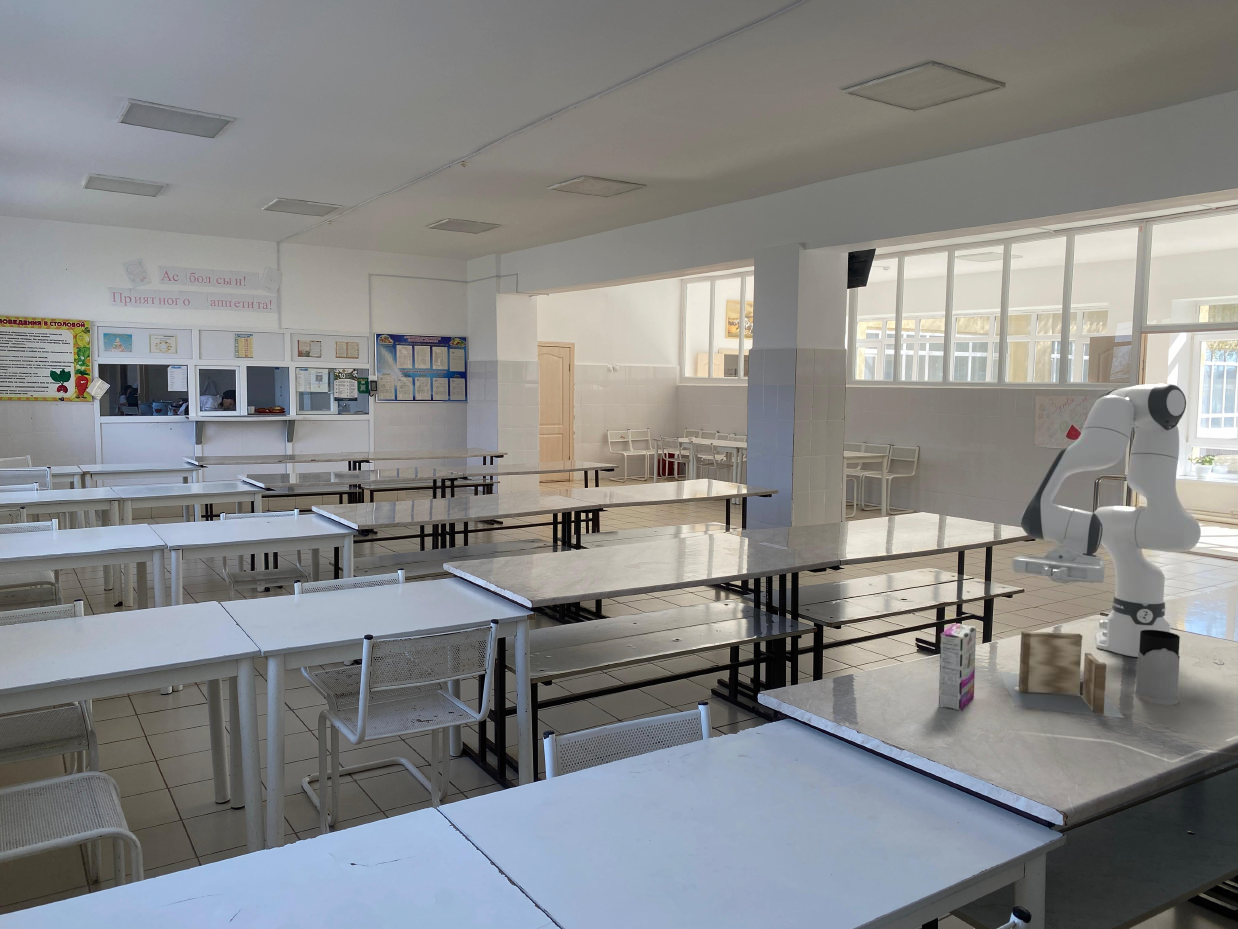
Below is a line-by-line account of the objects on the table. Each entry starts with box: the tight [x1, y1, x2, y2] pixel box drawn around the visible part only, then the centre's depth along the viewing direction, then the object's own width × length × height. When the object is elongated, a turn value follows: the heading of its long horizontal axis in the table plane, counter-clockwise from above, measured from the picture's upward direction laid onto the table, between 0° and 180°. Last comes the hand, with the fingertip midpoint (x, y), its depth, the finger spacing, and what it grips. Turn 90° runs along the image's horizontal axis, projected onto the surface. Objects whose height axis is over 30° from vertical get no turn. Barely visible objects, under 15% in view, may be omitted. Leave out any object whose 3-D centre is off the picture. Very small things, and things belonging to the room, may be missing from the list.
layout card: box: [999, 671, 1125, 719], centre depth 192 cm, size 25×21×1 cm
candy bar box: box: [938, 623, 977, 712], centre depth 186 cm, size 11×5×16 cm, turn 143°
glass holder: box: [1133, 630, 1181, 706], centre depth 192 cm, size 9×14×15 cm, turn 161°
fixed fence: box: [1080, 652, 1107, 714], centre depth 185 cm, size 13×2×11 cm, turn 165°
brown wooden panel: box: [1018, 630, 1083, 695], centre depth 192 cm, size 12×2×14 cm, turn 83°
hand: (1051, 573), depth 201 cm, fingers closed
